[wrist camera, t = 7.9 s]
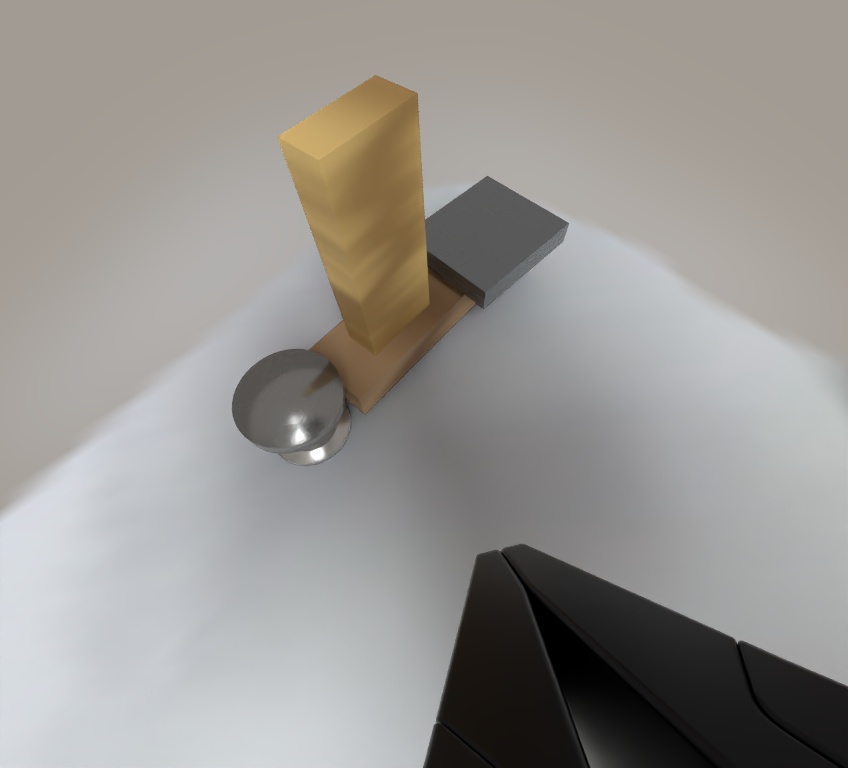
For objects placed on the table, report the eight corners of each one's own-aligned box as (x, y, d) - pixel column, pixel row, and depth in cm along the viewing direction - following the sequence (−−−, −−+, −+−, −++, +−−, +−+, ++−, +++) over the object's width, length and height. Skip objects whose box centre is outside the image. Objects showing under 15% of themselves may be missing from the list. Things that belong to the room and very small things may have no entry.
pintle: (337, 484, 16) (315, 461, 14) (248, 458, 17) (211, 431, 14) (370, 396, 18) (358, 361, 16) (288, 376, 19) (262, 339, 16)
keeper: (479, 345, 19) (485, 292, 16) (411, 292, 21) (404, 234, 18) (549, 283, 21) (569, 223, 17) (481, 238, 22) (487, 175, 19)
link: (365, 415, 17) (281, 219, 9) (314, 373, 18) (194, 160, 10) (496, 283, 20) (534, 38, 12) (446, 254, 21) (446, 9, 13)
